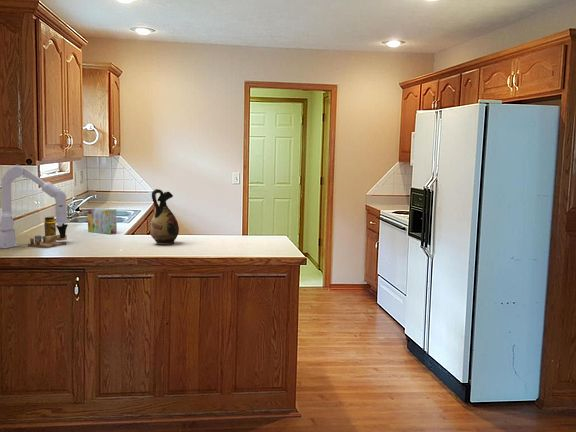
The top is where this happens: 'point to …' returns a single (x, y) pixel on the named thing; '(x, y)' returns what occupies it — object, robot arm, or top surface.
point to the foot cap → (38, 238)
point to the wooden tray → (44, 243)
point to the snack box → (102, 220)
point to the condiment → (49, 226)
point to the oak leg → (55, 238)
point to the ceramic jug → (163, 220)
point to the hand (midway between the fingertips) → (62, 237)
